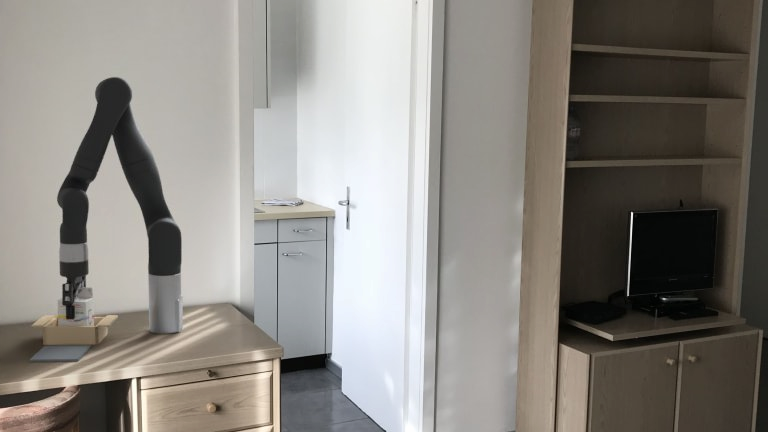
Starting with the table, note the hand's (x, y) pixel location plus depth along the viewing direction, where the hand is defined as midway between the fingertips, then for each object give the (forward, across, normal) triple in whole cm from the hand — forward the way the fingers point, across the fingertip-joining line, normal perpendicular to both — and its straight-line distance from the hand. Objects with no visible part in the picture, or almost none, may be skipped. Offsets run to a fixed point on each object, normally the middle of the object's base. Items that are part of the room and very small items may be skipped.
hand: (75, 315), depth 221 cm
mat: (+7, -14, 0) cm, 16 cm away
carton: (+7, 0, 0) cm, 7 cm away
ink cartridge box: (+7, 0, 0) cm, 7 cm away
